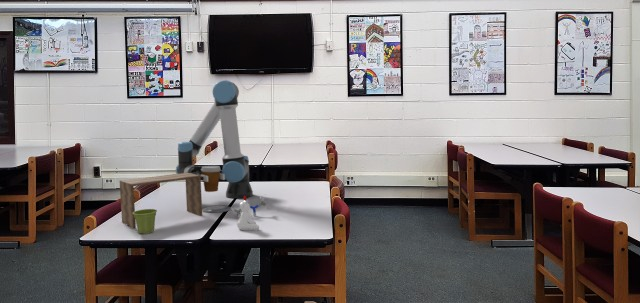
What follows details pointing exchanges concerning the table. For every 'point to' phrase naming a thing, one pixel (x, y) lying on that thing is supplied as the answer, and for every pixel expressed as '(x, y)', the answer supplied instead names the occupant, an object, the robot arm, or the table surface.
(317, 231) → the table surface
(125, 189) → the walnut shelf
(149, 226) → the plant pot
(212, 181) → the disposable coffee cup
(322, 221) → the table surface
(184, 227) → the table surface
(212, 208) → the slate coaster
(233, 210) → the molecular model
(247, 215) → the white creature statuette
